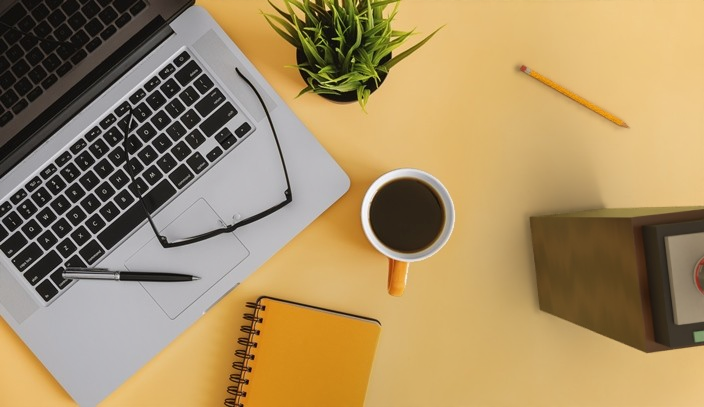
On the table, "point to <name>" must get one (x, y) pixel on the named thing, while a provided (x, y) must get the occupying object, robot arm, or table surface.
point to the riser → (601, 269)
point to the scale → (675, 281)
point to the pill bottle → (699, 275)
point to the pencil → (573, 96)
